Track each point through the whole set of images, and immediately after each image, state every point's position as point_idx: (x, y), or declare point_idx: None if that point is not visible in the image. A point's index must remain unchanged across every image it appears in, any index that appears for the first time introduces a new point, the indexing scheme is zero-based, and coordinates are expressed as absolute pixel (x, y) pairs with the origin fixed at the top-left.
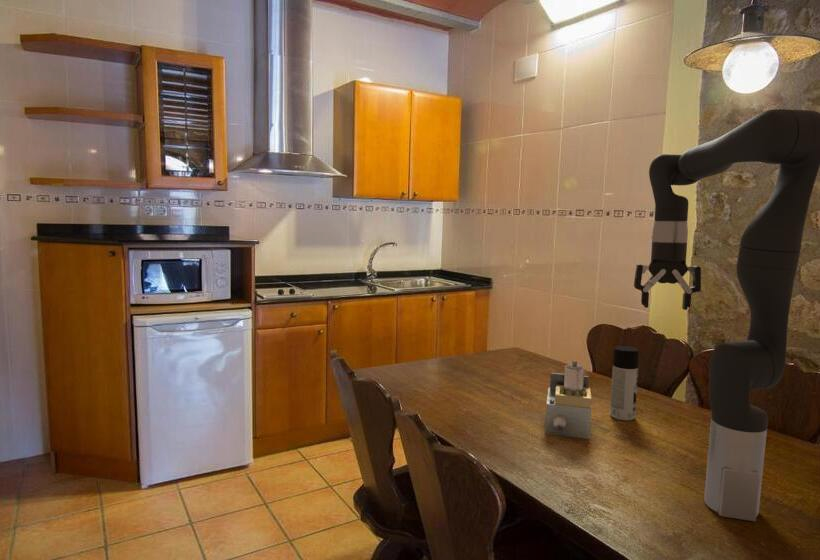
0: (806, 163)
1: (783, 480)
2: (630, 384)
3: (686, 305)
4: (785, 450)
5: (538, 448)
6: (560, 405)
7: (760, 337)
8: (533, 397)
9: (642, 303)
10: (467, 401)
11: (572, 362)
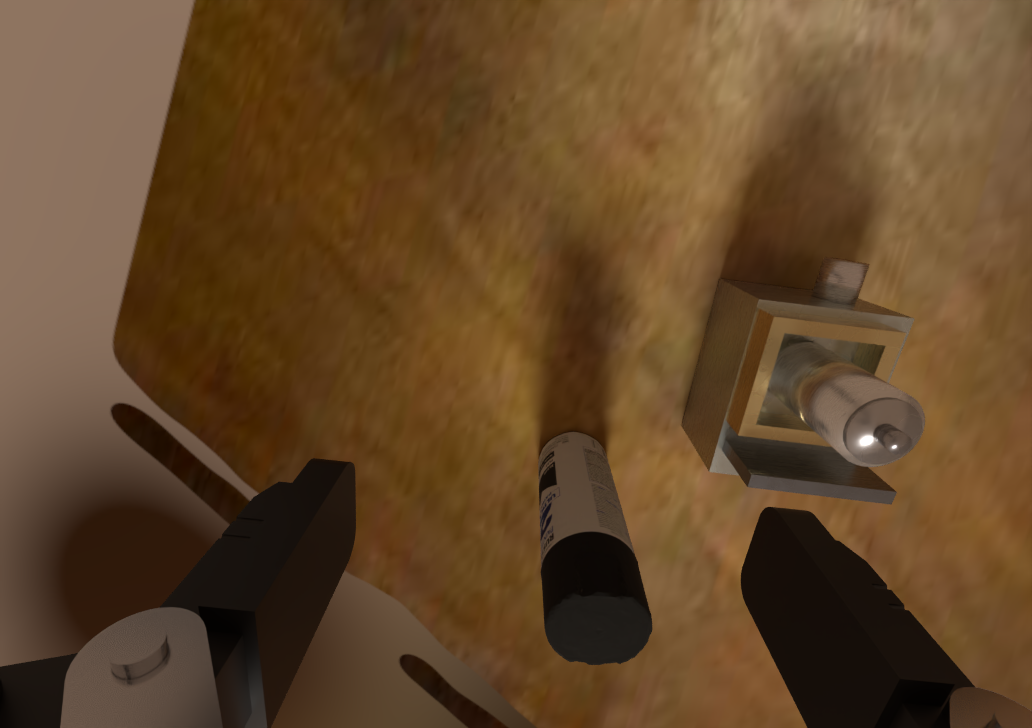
0: None
1: (243, 99)
2: (573, 495)
3: (308, 484)
4: (186, 309)
5: (904, 175)
6: (865, 312)
7: None
8: None
9: (856, 555)
10: (1027, 498)
11: (907, 439)
